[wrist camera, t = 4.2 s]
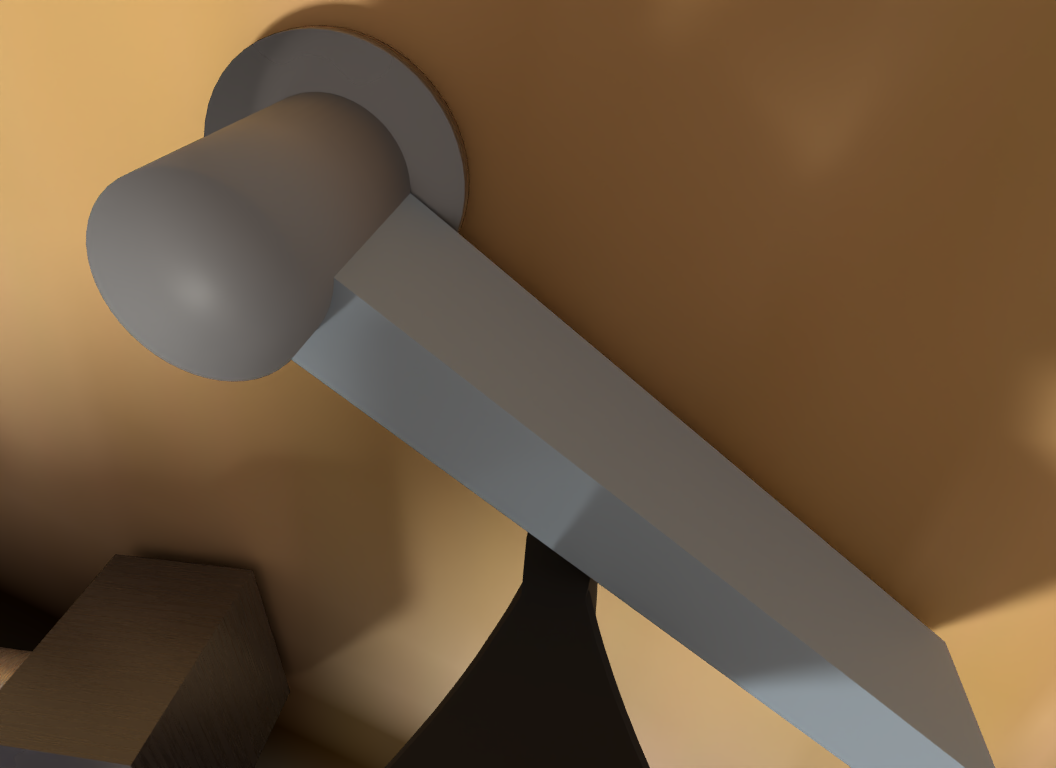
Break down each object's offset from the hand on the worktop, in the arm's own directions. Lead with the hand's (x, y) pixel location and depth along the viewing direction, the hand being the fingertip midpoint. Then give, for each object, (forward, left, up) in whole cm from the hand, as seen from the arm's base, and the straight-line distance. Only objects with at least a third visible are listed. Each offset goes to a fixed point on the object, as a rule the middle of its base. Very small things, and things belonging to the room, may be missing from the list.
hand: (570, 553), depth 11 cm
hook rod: (-4, +13, -1) cm, 14 cm away
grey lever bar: (+2, -1, -1) cm, 2 cm away
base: (+6, +3, -1) cm, 7 cm away
